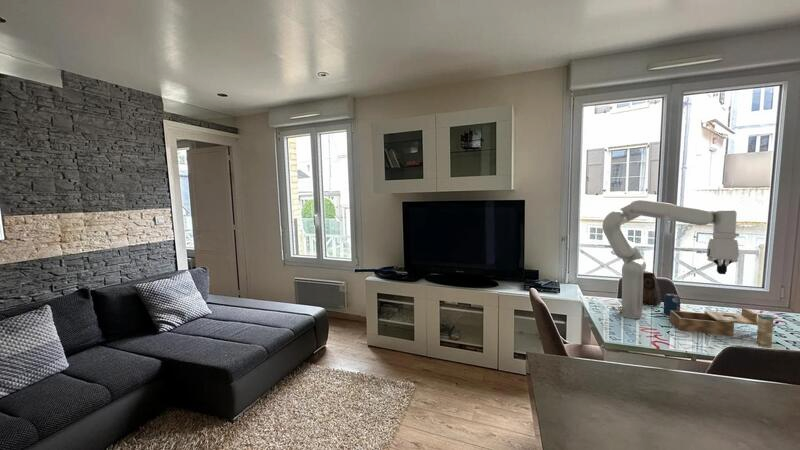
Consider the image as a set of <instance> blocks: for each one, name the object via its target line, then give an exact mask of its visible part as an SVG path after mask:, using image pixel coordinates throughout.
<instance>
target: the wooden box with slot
mask: <svg viewBox="0 0 800 450" xmlns="http://www.w3.org/2000/svg"><path fill="white" fill-rule="evenodd" d="M669 322H670V323H671V325H673V326H674V328H676V329H677V330H678V331H681V332H691V333H699V334H700V333H701V334H709V335H711V334H712V335H719V336H727V337H728V336H729V337H734V336H735V335H734V334H735V333H734V331H735V323H729V322H718V321H716V320H714V319H713V318H711V317H710V316H708V315H707V314H705V313H704V312H694V311H693V312H692V311H682V310H680V311H672V310H670V315H669Z"/></svg>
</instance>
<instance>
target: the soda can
mask: <svg viewBox="0 0 800 450" xmlns="http://www.w3.org/2000/svg"><path fill="white" fill-rule="evenodd" d="M670 310H672V311H681V297H680V295H679V294H676V293H672V292H668V293H667V292H666V293H665V294H664V296H663V314H664V315H666V316H670Z"/></svg>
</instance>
